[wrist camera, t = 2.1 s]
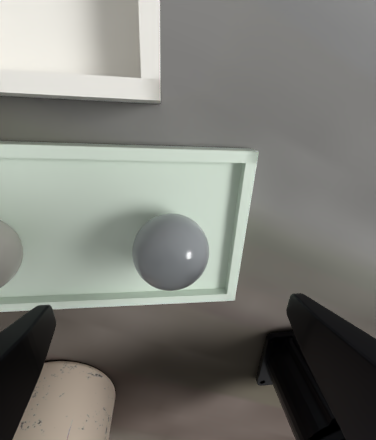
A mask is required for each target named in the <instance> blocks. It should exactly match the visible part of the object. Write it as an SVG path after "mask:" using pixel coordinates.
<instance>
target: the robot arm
mask: <svg viewBox="0 0 376 440" xmlns="http://www.w3.org/2000/svg"><path fill="white" fill-rule="evenodd" d="M287 316H288V319H289V321H290V324H291V326H292V329H293V332H278V333H270V334H269V335H268V336H267V337H266V341H265V345H264V349H263V352H262V356H261V360H260V364H259V368H258V372H257V375H256V381H257V384H258V385H272V384H273V386H274V388H275V391H276V393H277V396H278V398H279V400H280V403H281V405H282V408H283V410H284V412H285V415H286V417H287V420H288V422H289V424H290V427H291V429H292V432H293V434H294V437H295V439H296V440H376V339H375V338H374V337H372V336H370V335H369V334H367V333H365V332H364V331H362V330H361V329H359V328H357V327H356V326H354V325H353V324H351V323H349V322H348V321H346V320H344V319H343V318H341V317H340V316H338V315H336V314H335V313H333V312H332V311H330V310H328V309H327V308H325V307H323V306H322V305H320V304H319V303H317V302H315V301H314V300H312V299H311V298H309V297H307V296H306V295H304V294H301V293H297V294H292V295H291V296H290V299H289V302H288V306H287ZM55 327H56V320H55V316H54V313H53V309H52V306H51V305H38V306H36V307H34V308H33V309H32V310H30V311H29V312H28V313H26V314H25V315H23V316H22V317H21V318H19V319H18V320H17V321H15V322H14V323H13V324H11V325H10V326H8V327H7V328H6V329H4V330H3V331H2V332H0V440H13V437H14V435H15V433H16V430H17V428H18V426H19V423H20V421H21V419H22V416H23V414H24V412H25V409H26V407H27V405H28V402H29V400H30V398H31V396H32V393H33V391H34V389H35V386H36V384H37V382H38V379H39V377H40V374H41V371H42V368H43V365H44V362H45V359H46V356H47V353H48V350H49V346H50V343H51V340H52V337H53V334H54V331H55Z"/></svg>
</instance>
